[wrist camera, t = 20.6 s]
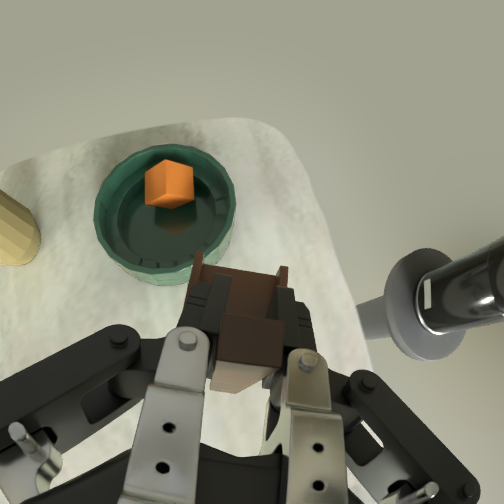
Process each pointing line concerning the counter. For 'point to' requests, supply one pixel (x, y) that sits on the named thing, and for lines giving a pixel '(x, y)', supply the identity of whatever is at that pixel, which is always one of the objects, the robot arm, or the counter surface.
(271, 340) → the scoop
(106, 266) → the counter surface
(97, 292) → the counter surface
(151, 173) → the block
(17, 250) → the squeeze bottle
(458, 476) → the robot arm
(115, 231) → the green pet bowl
